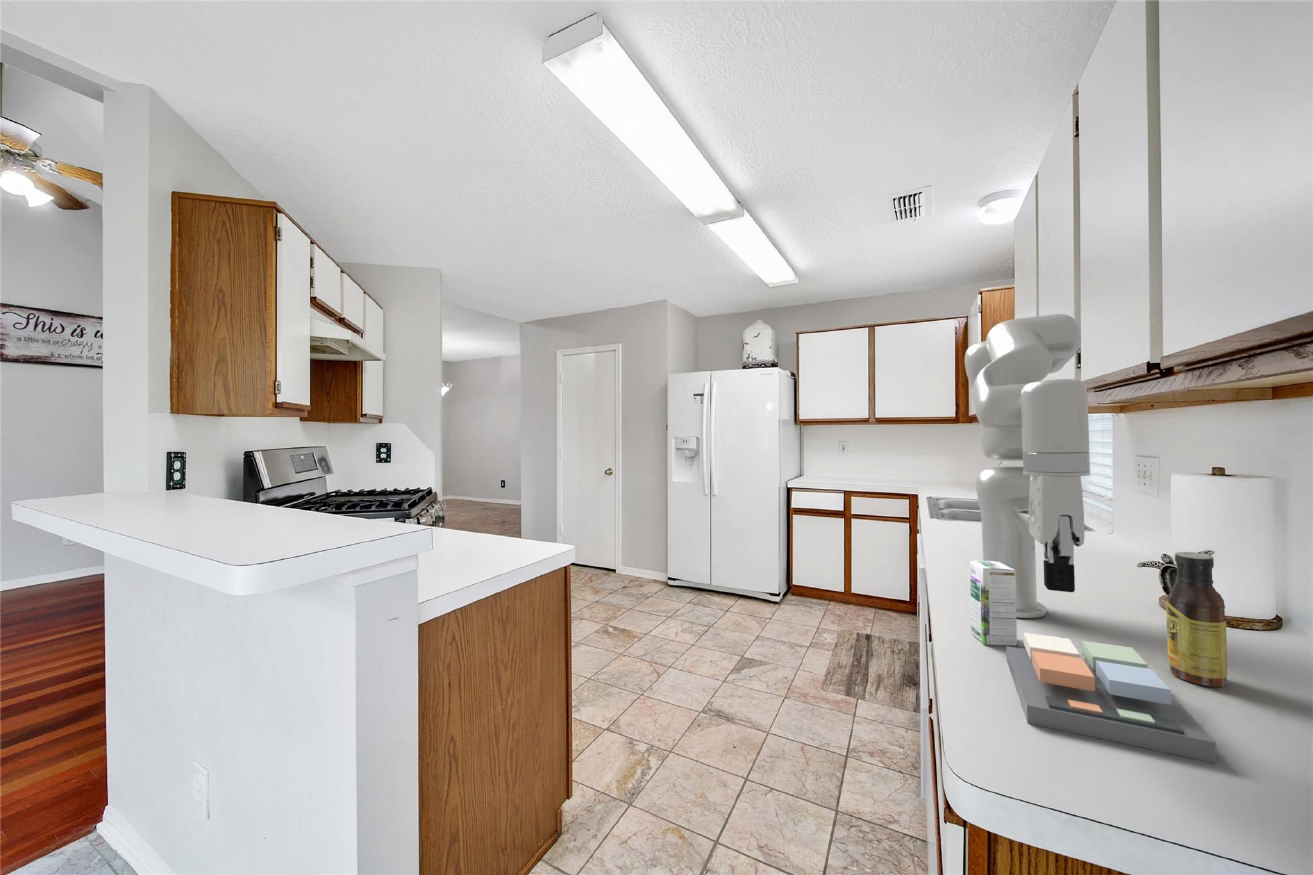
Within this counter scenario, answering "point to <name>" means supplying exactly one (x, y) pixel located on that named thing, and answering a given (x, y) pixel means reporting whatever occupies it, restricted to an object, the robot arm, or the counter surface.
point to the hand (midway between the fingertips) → (1059, 589)
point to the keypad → (1108, 713)
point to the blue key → (1133, 682)
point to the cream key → (1049, 645)
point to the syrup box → (993, 603)
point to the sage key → (1111, 654)
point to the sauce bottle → (1196, 623)
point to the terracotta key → (1063, 671)
